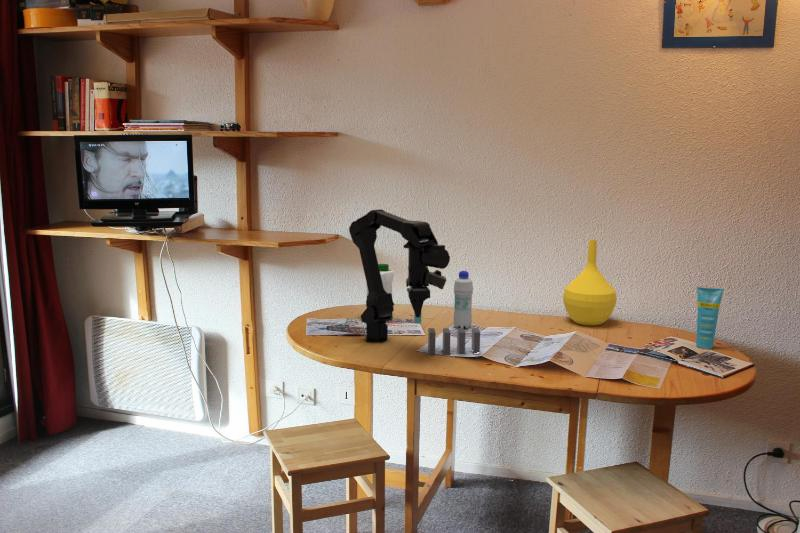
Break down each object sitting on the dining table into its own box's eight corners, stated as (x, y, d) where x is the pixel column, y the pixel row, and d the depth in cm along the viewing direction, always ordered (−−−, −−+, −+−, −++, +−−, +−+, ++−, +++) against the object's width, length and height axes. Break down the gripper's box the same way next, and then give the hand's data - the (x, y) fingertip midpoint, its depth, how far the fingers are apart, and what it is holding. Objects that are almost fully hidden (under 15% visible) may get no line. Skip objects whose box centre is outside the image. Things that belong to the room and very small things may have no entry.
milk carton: (396, 319, 244) (396, 265, 241) (379, 324, 238) (379, 268, 234) (378, 315, 250) (378, 262, 246) (361, 320, 243) (361, 265, 240)
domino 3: (444, 355, 205) (444, 332, 203) (442, 349, 210) (442, 328, 208) (450, 354, 205) (450, 332, 203) (448, 349, 210) (448, 328, 208)
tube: (692, 347, 213) (698, 288, 209) (691, 343, 217) (696, 285, 214) (718, 350, 211) (724, 289, 207) (716, 345, 215) (722, 286, 212)
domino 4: (458, 354, 205) (459, 332, 204) (457, 349, 210) (457, 328, 208) (464, 354, 205) (465, 332, 204) (462, 349, 210) (463, 328, 209)
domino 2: (429, 355, 205) (429, 332, 203) (428, 350, 209) (428, 328, 208) (435, 355, 205) (435, 332, 203) (433, 350, 210) (434, 328, 208)
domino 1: (415, 323, 203) (415, 300, 201) (414, 319, 208) (414, 297, 206) (421, 323, 203) (421, 300, 201) (420, 319, 208) (420, 297, 206)
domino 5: (473, 354, 205) (474, 332, 204) (471, 349, 210) (472, 328, 209) (479, 354, 205) (480, 332, 204) (477, 349, 210) (477, 328, 209)
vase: (625, 324, 240) (631, 241, 235) (591, 332, 230) (596, 245, 224) (585, 313, 255) (589, 234, 249) (551, 320, 245) (555, 238, 239)
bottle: (471, 330, 231) (472, 273, 227) (451, 329, 232) (452, 272, 229) (473, 325, 238) (474, 269, 234) (454, 324, 239) (455, 268, 235)
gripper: (448, 270, 193) (447, 322, 196) (441, 258, 211) (440, 307, 214) (409, 270, 193) (408, 323, 196) (406, 258, 211) (405, 307, 214)
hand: (417, 314), depth 205 cm, fingers closed on domino 1, 5 cm apart
